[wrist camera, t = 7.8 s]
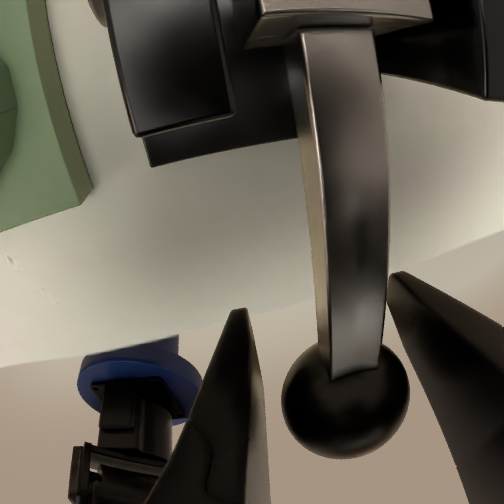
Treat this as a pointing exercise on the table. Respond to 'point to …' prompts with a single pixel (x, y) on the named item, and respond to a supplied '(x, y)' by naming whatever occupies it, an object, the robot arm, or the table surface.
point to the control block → (34, 122)
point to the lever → (341, 213)
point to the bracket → (268, 70)
